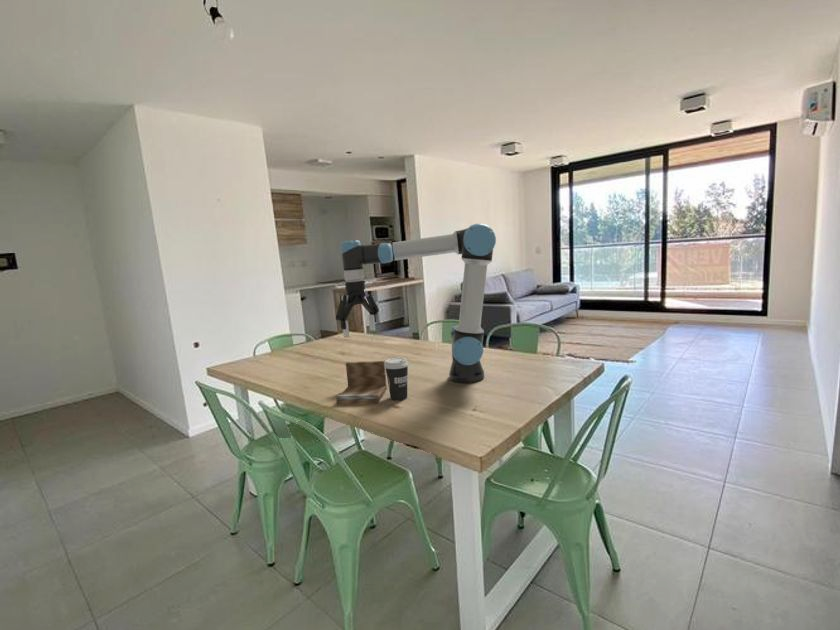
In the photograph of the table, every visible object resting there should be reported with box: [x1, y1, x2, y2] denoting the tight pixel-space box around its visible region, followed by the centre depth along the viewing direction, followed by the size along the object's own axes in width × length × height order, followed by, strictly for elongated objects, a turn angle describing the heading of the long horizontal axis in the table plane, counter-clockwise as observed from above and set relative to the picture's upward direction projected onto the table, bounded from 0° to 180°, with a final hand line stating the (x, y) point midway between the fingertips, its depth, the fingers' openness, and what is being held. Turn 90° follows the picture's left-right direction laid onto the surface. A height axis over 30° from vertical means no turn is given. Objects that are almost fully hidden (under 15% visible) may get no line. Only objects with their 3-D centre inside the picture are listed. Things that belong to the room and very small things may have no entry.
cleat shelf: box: [335, 360, 388, 405], centre depth 168 cm, size 16×17×12 cm
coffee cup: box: [384, 357, 410, 402], centre depth 163 cm, size 10×10×15 cm
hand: (360, 333), depth 169 cm, fingers open, 13 cm apart
